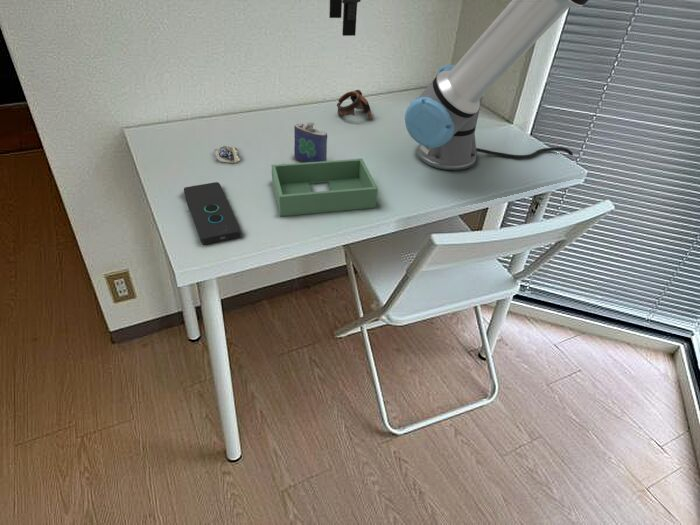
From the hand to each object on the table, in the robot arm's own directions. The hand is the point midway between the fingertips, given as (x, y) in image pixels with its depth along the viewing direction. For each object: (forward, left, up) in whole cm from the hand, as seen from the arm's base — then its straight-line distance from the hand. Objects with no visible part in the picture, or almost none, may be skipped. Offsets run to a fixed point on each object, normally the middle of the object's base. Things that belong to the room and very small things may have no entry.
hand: (341, 26), depth 116 cm
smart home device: (+33, +25, -31) cm, 52 cm away
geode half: (+28, 0, -31) cm, 42 cm away
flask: (+8, +6, -31) cm, 33 cm away
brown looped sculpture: (-10, -20, -31) cm, 38 cm away
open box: (+8, +22, -31) cm, 38 cm away
